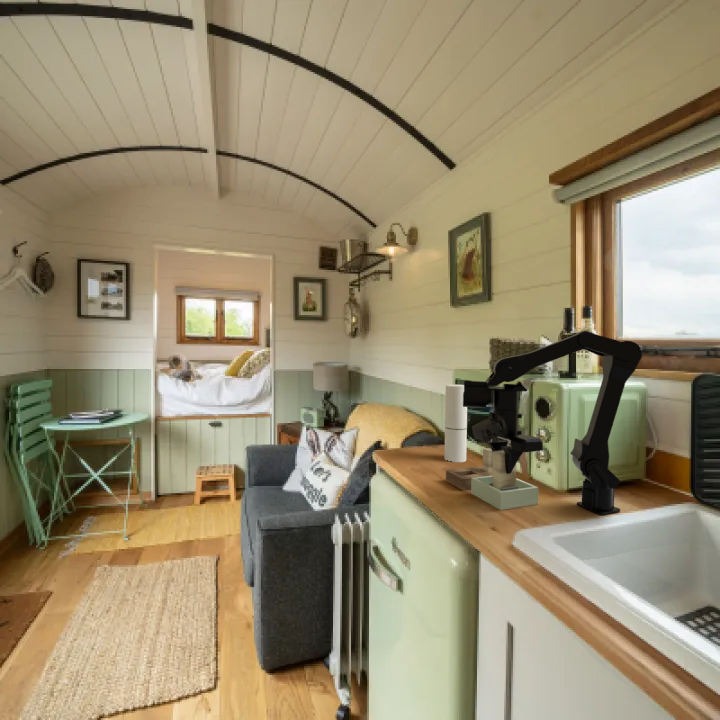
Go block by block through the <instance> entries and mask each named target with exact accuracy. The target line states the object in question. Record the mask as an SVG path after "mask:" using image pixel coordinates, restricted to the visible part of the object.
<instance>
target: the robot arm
mask: <svg viewBox="0 0 720 720" xmlns="http://www.w3.org/2000/svg"><path fill="white" fill-rule="evenodd" d="M582 350H585V351H587V352H590V353H592V354H594V355H596V356H599V357H602V363H601V366H602V367H601V368H602V369H601V370H602V381H601V384H600V387H599V391H598V394H597V398H596V401H595V405H594V408H593V411H592V413H591V414H592V415H591V417H590V421H589V425H588V427H587V431H586V434H585V435H584V437H582V439H581V440H580V439H578V438H574V443H573V449H572V450H571V451H570V455H571V456H572V463H573V464H574V466H575V467H576V468H577V469H578V470H579V471H580V473H581V475H582V476H583V478H584V480H582V488H581V501H576V506H579V507H582V508H584V509H586V510H589V511H590V512H593V513H596V514H598V515H608V514H612V513H618V512H621V508H619V507H616V506H615V490H616V489H618V486H619V485H620V482H621V480H620V479H619V478H618V477H617V476H616V474H615V473H613V472H612V471H611V470H610V469H609V464H610V449H609V439H610V436H611V433H612V429H613V426H614V422H615V419H616V416H617V412H618V410H619V406H620V402H621V399H622V395H623V393H624V389H625V385H626V383H627V381H628V380H629V379H630V377H631V376H632V375H633V373H635V372H636V370H637V368H638V365H639V364H640V362H641V360H642V358H643V349H642V348H641V346H640V345H639V344H638V343H636V342H634V341H632V340H620V341H619V340H616V339H614V338H610V337H606V336H603V335H598V334H597V333H593V332H592V331H588V330H584V331H583V330H582V331H578V332H576V333H575V334H573V335H571V336H568V337H566V338H563V339H560V340H558V341H555V342H553V343H551V344H550V343H549V344H548V345H546V346H545V345H544V346H542V347H540V348H538V349H535V350H533V351H530V352H526V353H522V354H516V355H511V356H506V357H502V358H499V359H498V360H496V361H495V363H494V365H493V368H492V369H493V370H492V373H490V375H489V377H487V378H486V380H485V381H484V380H483V381H482V380H480V381H478V380H469V379H465V380H463V385H464V392H463V407H467V408H480V409H481V408H482V409H486V408H487V406H488V405H491V404H492V391H493V410H492V411H489V413H488V418H487V419H484V420H482V421H480V422H477V423H476V424H474V425H472V426H471V429H472V437H474V439H475V440H478V441H481V442H484V443H485V444H486V445H487V446H488V448H491V449H492V452H493V451H502V450H503V451H504V452H505V468H506V473H507V474H510V473H511V472H512V470H513V468H514V466H515V465H516V466H517V462H519V459H520V457H521V456H522V455H523V453H530V452H531V453H532V452H542V451H543V450H544V446H543V445H544V441H543V440H542V439H541V438H540V437H537V436H532V435H529V434H527V435H522V430H521V429H520V430H519V429H518V428H519V425H518V424H519V419H522V417H523V414H522V413H519V392H524V393H525V392H527V391H528V389H527V387H525V386H524V385H523V383H522V381H520V380H517V379H519V378H521V377H522V376H524V375H526V374H528V373H529V372H531V371H532V370H533V369H536V368H537V367H540V366H542V365H545V364H547V363H550V362H552V361H555V360H557V359H561V358H564V357H566V356H569V355H571V354H573V353H576V352H579V351H582ZM515 380H517V382H515V383H511V382H513V381H515ZM501 384H502V386H501V387H500V386H499V385H501ZM497 386H499V387H497Z"/></svg>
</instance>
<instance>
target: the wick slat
mask: <svg viewBox="0 0 720 720" xmlns="http://www.w3.org/2000/svg"><path fill="white" fill-rule="evenodd" d="M482 466H483V470H484V471H486V472H488V473H490V472H493V452H492V449H491V448H490V447H487V448H482Z"/></svg>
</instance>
